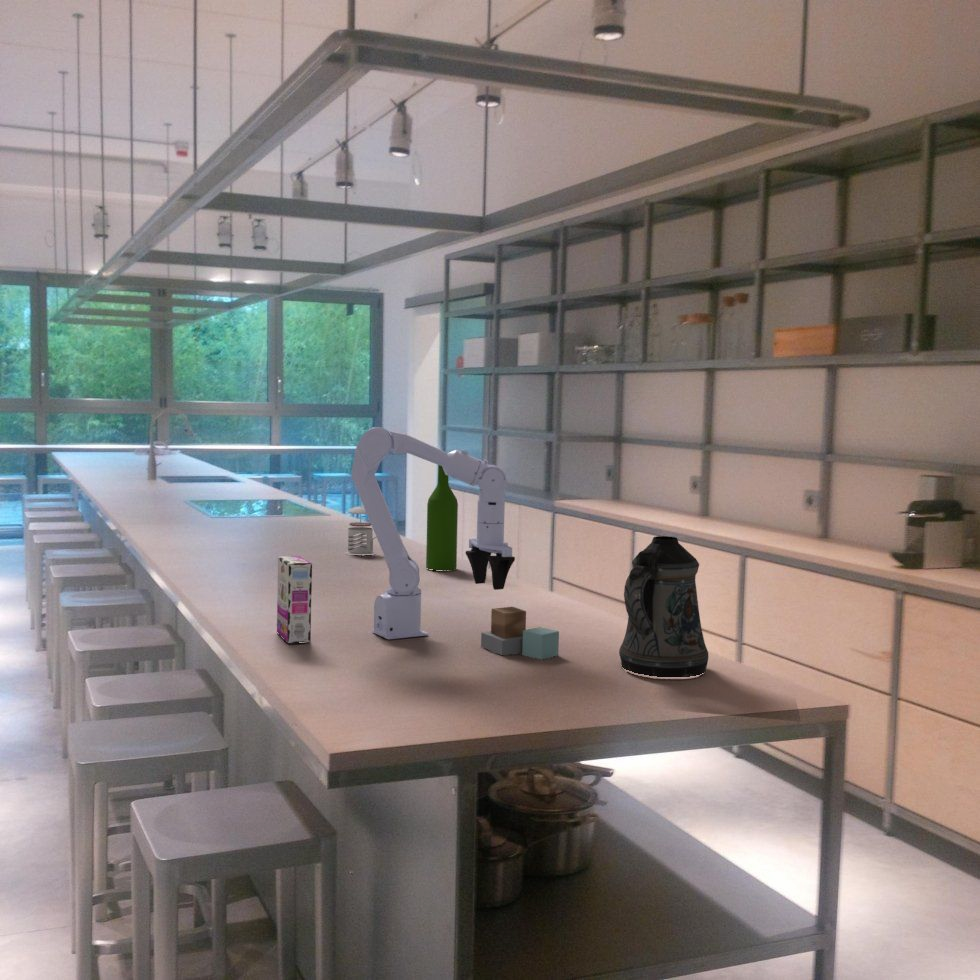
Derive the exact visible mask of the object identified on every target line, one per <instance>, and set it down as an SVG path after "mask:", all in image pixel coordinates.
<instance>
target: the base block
mask: <svg viewBox="0 0 980 980" xmlns="http://www.w3.org/2000/svg"><path fill="white" fill-rule="evenodd" d="M480 635H481V637H480V647H481V648H482V647H483V648H482V649H485V648H486V649H485V650H487V649H488V651H489V650H490V652H492V651H493V652H492V653H494V652H495V654H497V653H498V654H497V655H499V654H500V655H499V656H501V655H504V656H510V654H512V655H519V654H518V653H520V654H522V648H523V636H521V637H512V638H502V637H499V636H497V635H494V634H492V633H491V630H490V631H481V634H480Z"/></svg>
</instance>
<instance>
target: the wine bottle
mask: <svg viewBox="0 0 980 980" xmlns="http://www.w3.org/2000/svg"><path fill="white" fill-rule="evenodd" d="M437 466H438V468H437V484H436V486H435V488H434V489H433V491H432V492H431V495H429V497H428V501H427V503H426V508H427V509H426V512H427V513H426V549H425V550H426V553H425V554H426V557H425V558H426V561H425V562H426V563H425V568H428V569H433V570H454V569H456V570H457V566H458V565H457V563H458V562H457V561H458V557H457V556H458V521H459V519H458V518H459V517H458V516H459V515H458V514H459V504H458V499H457V496H456V495H455V494H454V492H453V489H452V488H451V486H450V484H449V477H450V476H447V475H446V474H445V472H444V470H443V467H442V466H440V465H437ZM454 571H455V570H454Z"/></svg>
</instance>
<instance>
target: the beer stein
mask: <svg viewBox="0 0 980 980" xmlns="http://www.w3.org/2000/svg"><path fill="white" fill-rule="evenodd" d="M631 565H632V568H631V570H630V572H629V575H628V576H627V578H626V580H625V584H624V591H623V598H624V605H625V609H626V612H627V617H628V618H627V623H626V624H627V625H626V630H625V635H624V636H623V637H624V639H622V640H623V641H622V643H621V645H620V647H619V652H618V654H619V658H620V663H621V665H622V666H621V668H622V667H623V668H624V669H626V670H629V671H632V672H634V673H638V674H644V675H649V676H657V677H690V676H696V675H700V674H702V673H704V672H705V673H706V670H707V666H708V661H709V651H708V648H707V645H706V643H705V639H704V633H703V629H702V623H701V616H700V609H699V600H698V592H697V584H696V576H697V573H698V572H699V567H700V563H699V561H698V560H697V558H696V557H695V556H694V555H693V554H692V553H690V552H689V551H688V550H687V549H686V548H685V547H684V546H683V545H682V544H681V543H680V542H679V539H678V537H676V536H664V535H663V536H661V535H660V536H659V535H658V536H657V535H656V536H653V537H652V540H651V542H650V543H649V544H648V545H647V546H646V547H645V548H644V549H643V550H640V551H639V552H638V554H637V555H635V557H634V558H633V559H632V561H631Z"/></svg>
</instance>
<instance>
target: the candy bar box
mask: <svg viewBox="0 0 980 980" xmlns="http://www.w3.org/2000/svg"><path fill="white" fill-rule="evenodd" d="M312 586H313V563H312V562H311V561H309V560H308V559H307V560H306V559H305V558H303V557H302V556H301V555H299V556H298V555H284V556H278V557H277V601H276V604H277V605H276V609H277V610H276V633H277V632H278V633H279V634H280V635H281V636H282V637H283V638H284V639H285V640H286V641H287V642H288V643H299V642H310V643H311V639H312V638H311V635H312V633H311V628H312V592H313V591H312V590H313V589H312Z"/></svg>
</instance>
